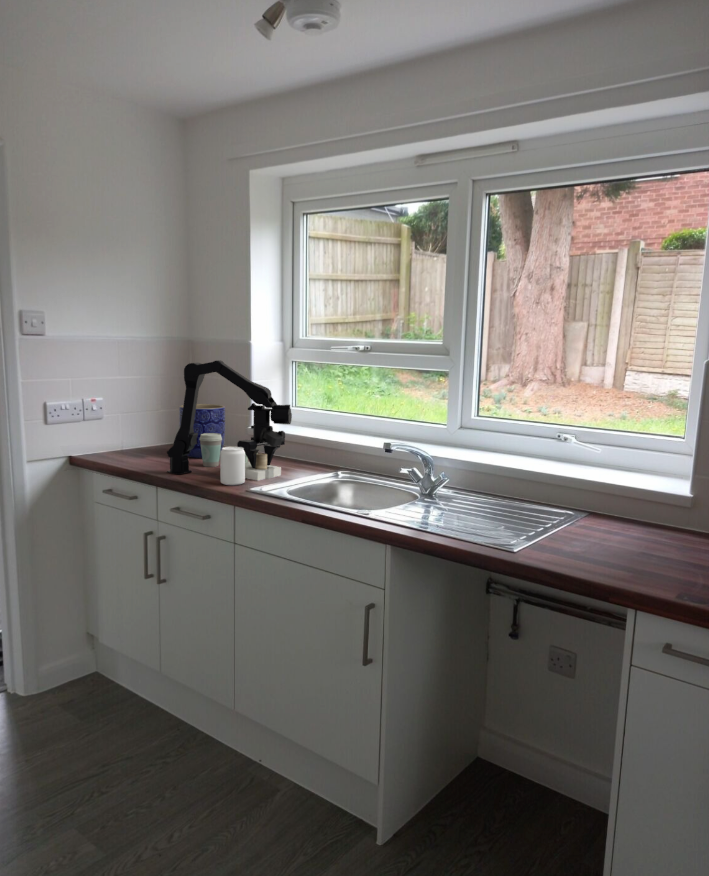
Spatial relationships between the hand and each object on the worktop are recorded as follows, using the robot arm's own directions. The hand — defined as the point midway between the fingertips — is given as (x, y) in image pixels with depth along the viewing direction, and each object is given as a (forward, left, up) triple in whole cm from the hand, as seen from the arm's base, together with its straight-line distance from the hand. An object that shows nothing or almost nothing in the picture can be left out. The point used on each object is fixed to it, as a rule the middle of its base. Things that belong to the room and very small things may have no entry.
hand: (261, 466), depth 242 cm
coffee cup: (-28, +2, -4) cm, 28 cm away
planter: (-46, +14, -4) cm, 48 cm away
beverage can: (+1, -15, -4) cm, 15 cm away
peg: (0, 0, -4) cm, 4 cm away
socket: (-4, 0, -4) cm, 5 cm away
